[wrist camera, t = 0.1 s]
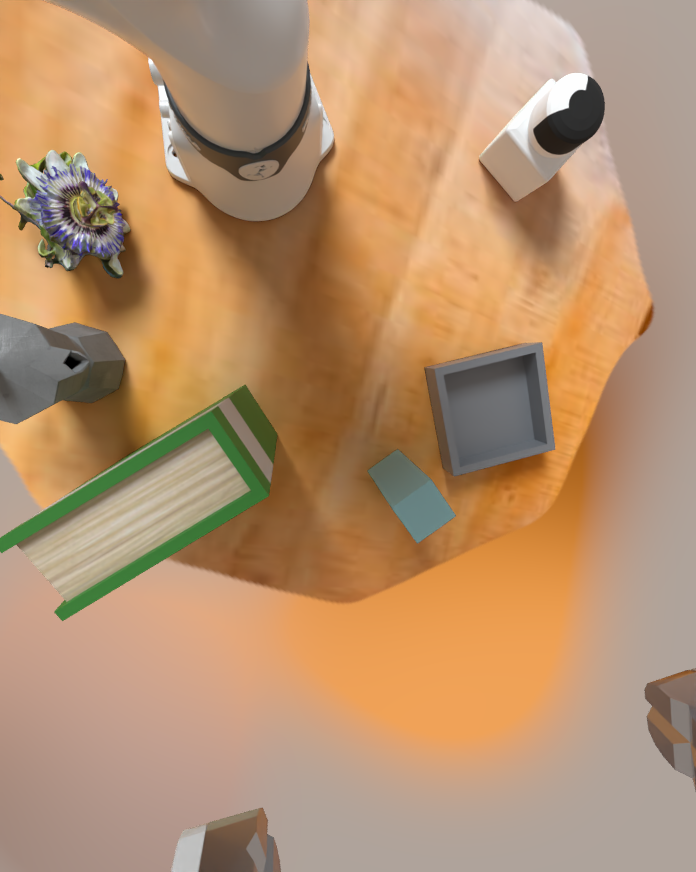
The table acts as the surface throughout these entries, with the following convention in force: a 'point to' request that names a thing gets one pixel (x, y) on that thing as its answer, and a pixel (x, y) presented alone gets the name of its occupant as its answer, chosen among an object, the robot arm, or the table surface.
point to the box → (491, 408)
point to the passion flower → (71, 212)
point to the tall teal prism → (411, 495)
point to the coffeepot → (53, 366)
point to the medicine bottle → (545, 134)
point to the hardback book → (151, 502)
